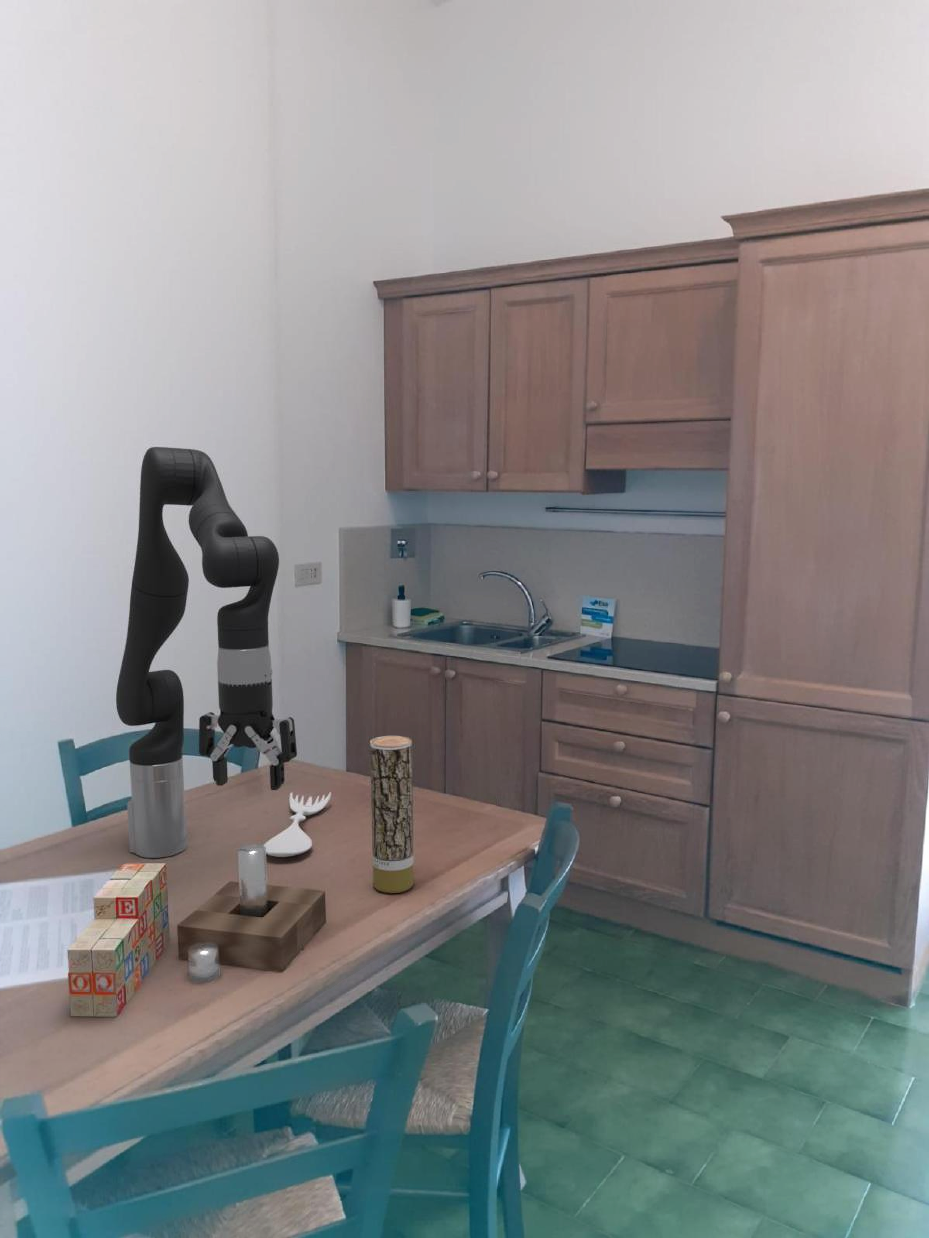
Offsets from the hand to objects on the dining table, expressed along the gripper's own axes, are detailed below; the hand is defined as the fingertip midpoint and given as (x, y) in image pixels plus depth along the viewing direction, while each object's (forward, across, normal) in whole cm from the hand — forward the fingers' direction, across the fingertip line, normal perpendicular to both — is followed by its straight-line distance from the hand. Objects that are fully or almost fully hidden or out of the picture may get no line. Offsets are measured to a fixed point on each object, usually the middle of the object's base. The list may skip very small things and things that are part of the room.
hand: (249, 786), depth 145 cm
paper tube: (+24, +14, +23) cm, 36 cm away
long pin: (+24, 0, 0) cm, 24 cm away
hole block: (+24, 0, 0) cm, 24 cm away
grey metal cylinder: (+24, -2, -12) cm, 26 cm away
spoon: (+24, -12, +43) cm, 51 cm away
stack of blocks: (+24, -13, -14) cm, 31 cm away
